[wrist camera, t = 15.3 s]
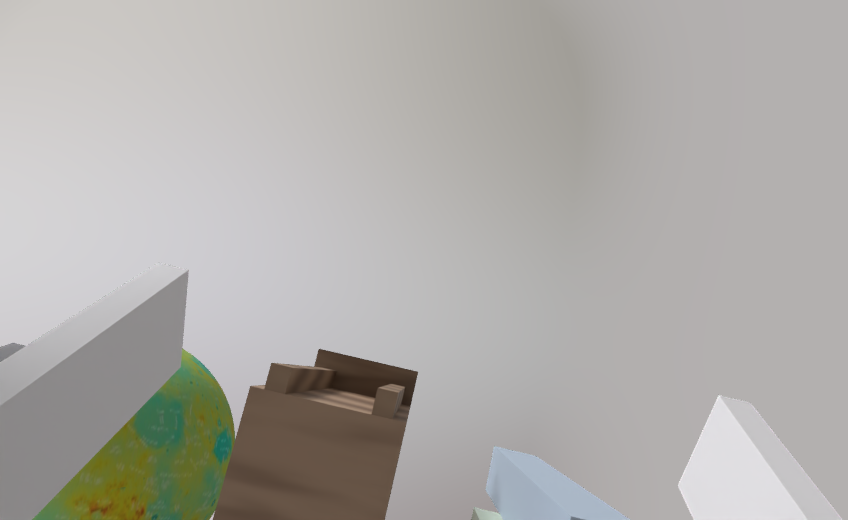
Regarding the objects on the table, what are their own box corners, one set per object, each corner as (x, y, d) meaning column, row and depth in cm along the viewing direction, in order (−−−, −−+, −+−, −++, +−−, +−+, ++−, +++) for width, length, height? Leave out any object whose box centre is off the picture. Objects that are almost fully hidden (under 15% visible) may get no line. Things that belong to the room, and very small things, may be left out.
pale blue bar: (642, 628, 26) (655, 536, 27) (555, 607, 26) (571, 516, 27) (527, 500, 54) (535, 455, 55) (485, 489, 54) (494, 446, 55)
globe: (-43, 526, 77) (36, 306, 83) (191, 548, 88) (246, 353, 94) (-156, 641, 50) (-25, 302, 56) (203, 652, 61) (281, 368, 67)
